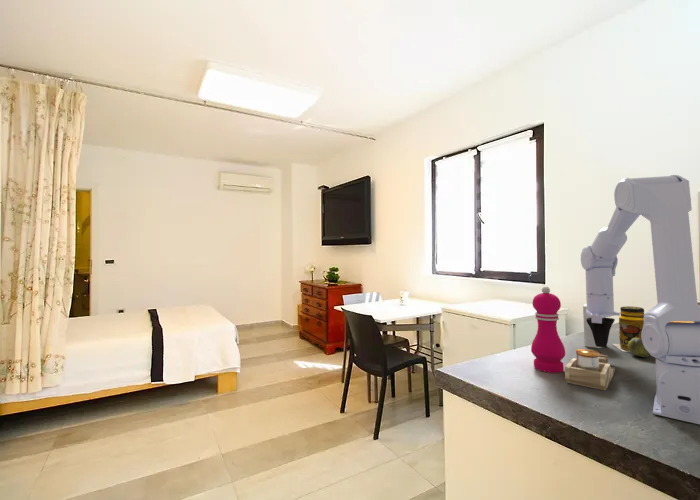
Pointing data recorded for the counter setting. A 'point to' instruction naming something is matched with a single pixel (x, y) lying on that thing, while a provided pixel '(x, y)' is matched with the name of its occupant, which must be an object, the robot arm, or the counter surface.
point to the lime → (637, 348)
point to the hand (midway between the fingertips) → (601, 346)
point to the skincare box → (588, 330)
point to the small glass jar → (587, 359)
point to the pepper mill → (547, 334)
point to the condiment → (630, 326)
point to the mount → (590, 374)
